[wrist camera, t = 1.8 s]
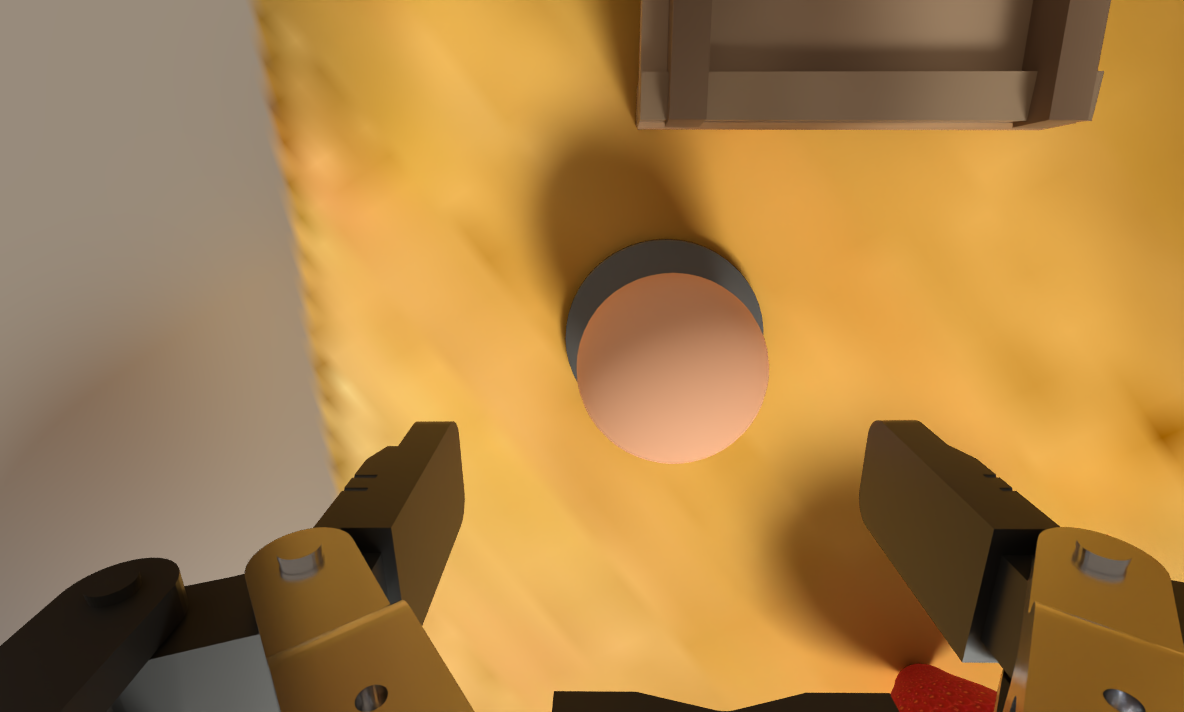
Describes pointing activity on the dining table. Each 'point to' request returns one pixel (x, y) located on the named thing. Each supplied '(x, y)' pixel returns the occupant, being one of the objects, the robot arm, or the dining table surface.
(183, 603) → the robot arm
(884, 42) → the walnut ramp
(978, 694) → the strawberry
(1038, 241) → the dining table surface
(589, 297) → the coaster
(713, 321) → the rubber ball
